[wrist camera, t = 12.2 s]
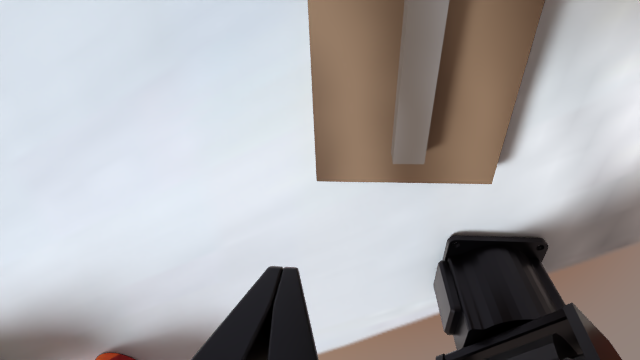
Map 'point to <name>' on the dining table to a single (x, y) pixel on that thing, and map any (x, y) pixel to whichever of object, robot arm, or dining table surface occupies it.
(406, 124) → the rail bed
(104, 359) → the paper cup
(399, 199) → the dining table surface
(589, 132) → the dining table surface
